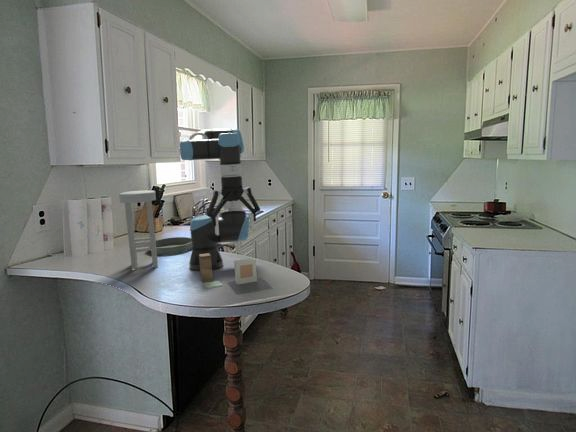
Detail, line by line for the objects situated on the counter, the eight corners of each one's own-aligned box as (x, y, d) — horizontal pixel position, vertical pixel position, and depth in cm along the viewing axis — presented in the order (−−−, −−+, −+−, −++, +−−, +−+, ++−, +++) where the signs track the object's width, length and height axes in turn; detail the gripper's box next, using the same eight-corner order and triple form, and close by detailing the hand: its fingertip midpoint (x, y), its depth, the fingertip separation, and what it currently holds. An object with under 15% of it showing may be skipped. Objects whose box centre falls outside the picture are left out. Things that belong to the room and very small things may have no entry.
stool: (128, 263, 201) (120, 191, 195) (161, 259, 205) (154, 189, 200) (126, 272, 186) (118, 195, 180) (162, 267, 191) (155, 192, 185)
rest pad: (204, 285, 163) (204, 282, 163) (219, 282, 166) (219, 280, 165) (207, 290, 158) (207, 287, 158) (222, 287, 160) (222, 284, 160)
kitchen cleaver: (244, 244, 228) (229, 247, 221) (244, 246, 228) (229, 248, 221) (220, 239, 246) (205, 241, 239) (220, 240, 246) (205, 242, 239)
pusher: (201, 280, 170) (199, 254, 168) (210, 278, 171) (208, 253, 170) (202, 283, 166) (200, 256, 164) (212, 281, 168) (210, 255, 166)
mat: (227, 284, 164) (227, 282, 164) (260, 278, 169) (260, 277, 169) (236, 296, 150) (236, 294, 150) (273, 289, 155) (273, 288, 155)
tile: (235, 282, 163) (234, 260, 162) (255, 279, 166) (253, 257, 165) (237, 284, 161) (235, 262, 159) (256, 281, 164) (255, 259, 162)
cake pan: (157, 245, 239) (156, 237, 238) (199, 243, 238) (198, 236, 237) (140, 256, 214) (139, 248, 214) (187, 255, 213) (186, 246, 213)
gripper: (199, 179, 143) (204, 238, 148) (266, 174, 153) (269, 229, 157) (195, 177, 150) (199, 234, 154) (259, 172, 160) (262, 226, 164)
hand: (235, 232), depth 156 cm, fingers open, 13 cm apart
